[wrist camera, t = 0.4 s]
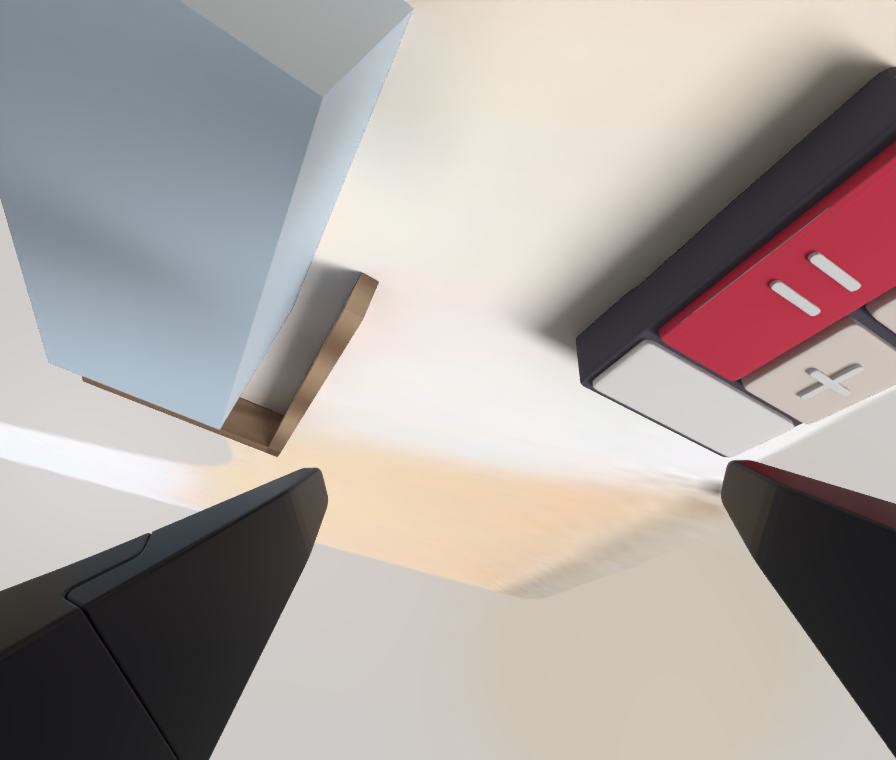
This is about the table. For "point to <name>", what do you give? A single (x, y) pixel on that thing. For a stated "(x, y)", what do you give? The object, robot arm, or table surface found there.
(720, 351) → the calculator
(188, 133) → the slate box
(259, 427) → the frame
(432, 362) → the table surface
